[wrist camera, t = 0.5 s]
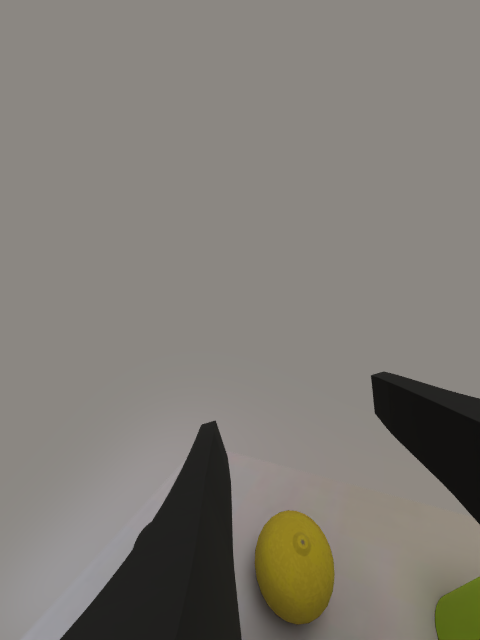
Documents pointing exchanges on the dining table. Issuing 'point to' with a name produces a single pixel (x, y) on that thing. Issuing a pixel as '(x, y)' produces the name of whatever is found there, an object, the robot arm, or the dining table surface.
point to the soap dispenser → (459, 613)
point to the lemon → (294, 567)
